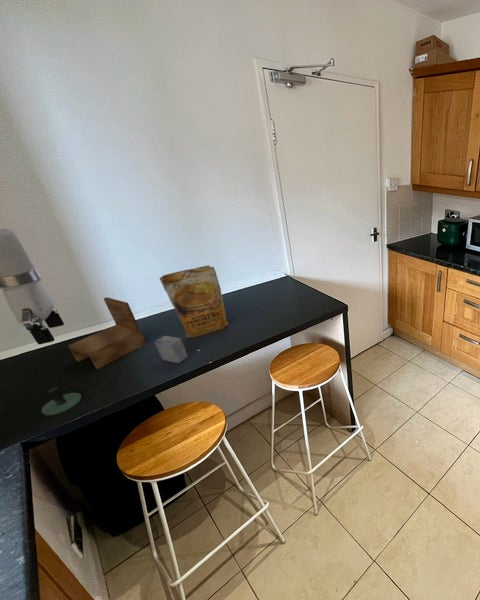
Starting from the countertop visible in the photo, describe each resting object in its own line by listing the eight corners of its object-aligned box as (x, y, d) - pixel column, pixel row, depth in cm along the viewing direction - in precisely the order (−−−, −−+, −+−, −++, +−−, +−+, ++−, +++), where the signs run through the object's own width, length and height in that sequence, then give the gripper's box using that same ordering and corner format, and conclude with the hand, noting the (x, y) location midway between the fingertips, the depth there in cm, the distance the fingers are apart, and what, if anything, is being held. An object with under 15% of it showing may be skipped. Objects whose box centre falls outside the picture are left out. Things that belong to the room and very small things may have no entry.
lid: (52, 419, 93) (41, 403, 90) (35, 410, 96) (24, 395, 93) (88, 398, 100) (79, 383, 98) (71, 391, 103) (62, 376, 101)
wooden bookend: (97, 369, 113) (72, 324, 105) (76, 361, 118) (50, 317, 109) (146, 343, 127) (127, 302, 119) (126, 337, 132) (106, 297, 123)
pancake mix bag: (181, 334, 133) (157, 273, 121) (229, 320, 144) (212, 263, 131) (183, 341, 129) (159, 279, 116) (233, 326, 139) (216, 267, 127)
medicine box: (188, 356, 120) (181, 338, 116) (178, 364, 116) (170, 344, 112) (172, 353, 121) (164, 334, 118) (162, 360, 118) (153, 341, 114)
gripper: (10, 270, 85) (43, 324, 93) (-20, 294, 72) (22, 354, 80) (48, 265, 89) (77, 317, 96) (26, 286, 76) (62, 344, 83)
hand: (52, 334), depth 88 cm, fingers open, 9 cm apart
